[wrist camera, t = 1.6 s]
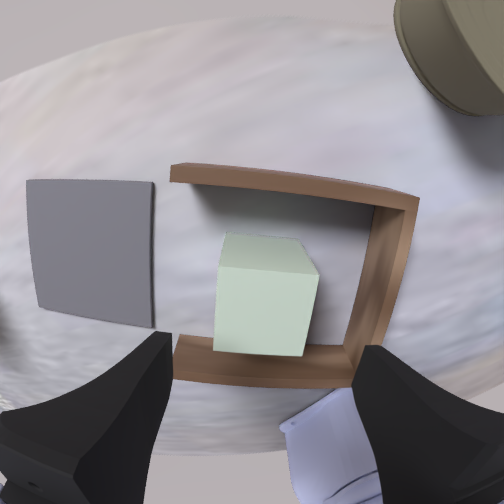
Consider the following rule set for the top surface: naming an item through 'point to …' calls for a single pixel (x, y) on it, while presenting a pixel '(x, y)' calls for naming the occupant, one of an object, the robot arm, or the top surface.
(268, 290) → the sage block
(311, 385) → the walnut u-shaped frame
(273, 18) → the top surface
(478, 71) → the can
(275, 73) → the top surface
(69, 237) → the charcoal mat
